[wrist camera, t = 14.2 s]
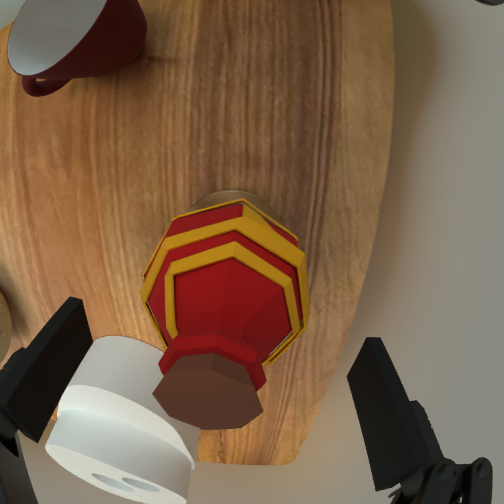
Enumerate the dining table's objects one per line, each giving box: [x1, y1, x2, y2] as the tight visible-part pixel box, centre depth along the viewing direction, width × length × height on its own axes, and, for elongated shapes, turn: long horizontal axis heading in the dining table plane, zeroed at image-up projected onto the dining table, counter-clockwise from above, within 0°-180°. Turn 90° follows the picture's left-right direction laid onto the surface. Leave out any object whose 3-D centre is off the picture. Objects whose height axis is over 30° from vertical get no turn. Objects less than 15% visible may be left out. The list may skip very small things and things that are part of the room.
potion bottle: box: [140, 198, 310, 430], centre depth 16 cm, size 10×10×15 cm
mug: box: [7, 0, 147, 97], centre depth 12 cm, size 10×8×10 cm
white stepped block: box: [45, 336, 201, 504], centre depth 26 cm, size 20×25×14 cm
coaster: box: [187, 190, 286, 232], centre depth 23 cm, size 9×9×1 cm
